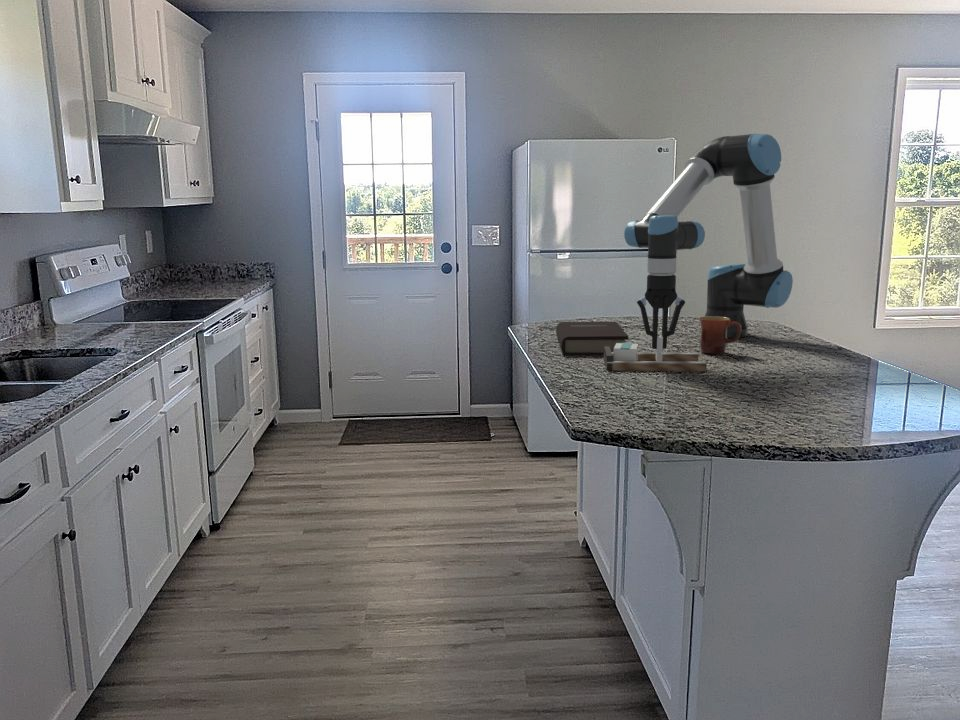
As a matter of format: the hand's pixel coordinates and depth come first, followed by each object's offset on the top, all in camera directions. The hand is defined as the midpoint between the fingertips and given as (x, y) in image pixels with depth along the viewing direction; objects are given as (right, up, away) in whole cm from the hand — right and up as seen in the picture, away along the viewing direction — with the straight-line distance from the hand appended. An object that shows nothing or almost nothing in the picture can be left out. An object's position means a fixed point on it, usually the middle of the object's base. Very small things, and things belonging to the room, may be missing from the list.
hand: (658, 360), depth 215 cm
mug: (+21, +2, +16) cm, 26 cm away
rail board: (-1, -1, 0) cm, 2 cm away
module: (-9, -1, +1) cm, 9 cm away
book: (-15, +4, +30) cm, 33 cm away
